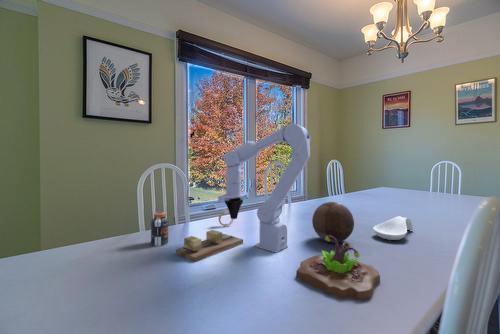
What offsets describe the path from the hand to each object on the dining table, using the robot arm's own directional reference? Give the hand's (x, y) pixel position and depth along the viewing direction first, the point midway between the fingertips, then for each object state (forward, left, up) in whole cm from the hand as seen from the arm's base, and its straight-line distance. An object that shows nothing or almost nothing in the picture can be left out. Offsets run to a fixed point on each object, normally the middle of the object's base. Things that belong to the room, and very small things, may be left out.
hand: (233, 218), depth 96 cm
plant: (-41, +3, -9) cm, 42 cm away
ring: (+16, -12, -9) cm, 22 cm away
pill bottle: (+18, +20, -9) cm, 28 cm away
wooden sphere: (-29, -24, -9) cm, 39 cm away
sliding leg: (+1, +10, -7) cm, 12 cm away
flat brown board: (0, +11, -8) cm, 14 cm away
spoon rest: (-46, -48, -9) cm, 67 cm away
